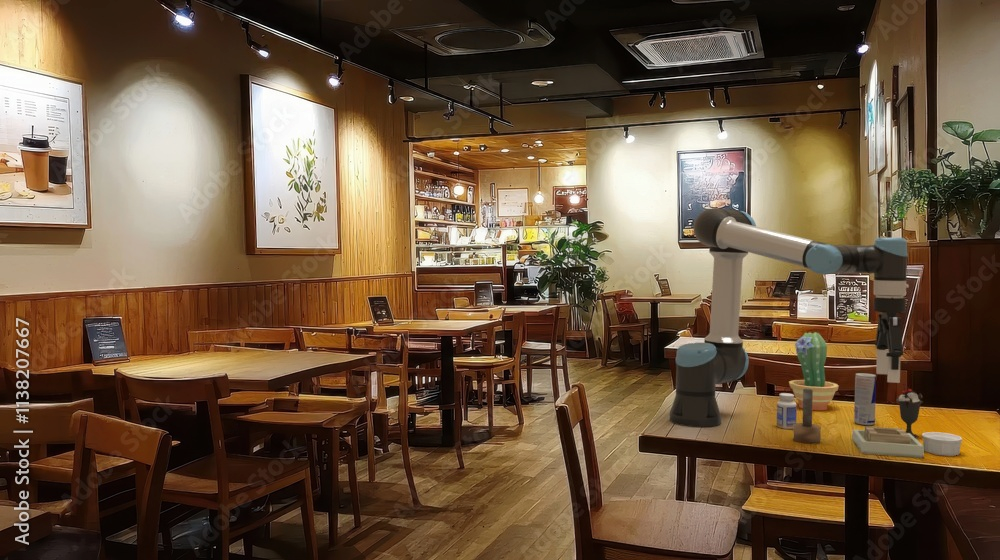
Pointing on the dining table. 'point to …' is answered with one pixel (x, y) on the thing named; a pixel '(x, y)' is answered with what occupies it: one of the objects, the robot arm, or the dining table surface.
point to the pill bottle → (786, 411)
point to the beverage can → (865, 399)
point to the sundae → (909, 408)
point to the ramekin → (941, 443)
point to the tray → (888, 446)
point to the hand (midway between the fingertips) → (887, 378)
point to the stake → (807, 422)
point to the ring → (886, 435)
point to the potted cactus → (813, 371)
